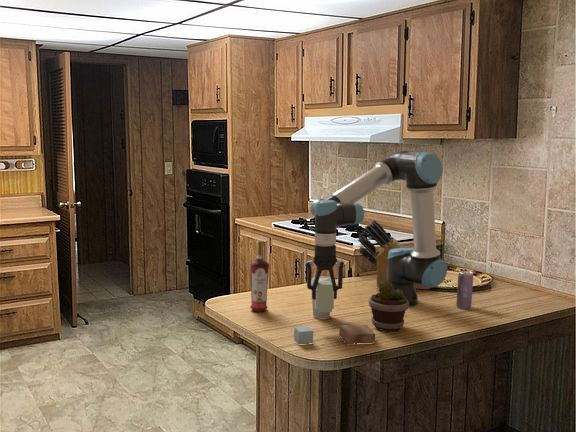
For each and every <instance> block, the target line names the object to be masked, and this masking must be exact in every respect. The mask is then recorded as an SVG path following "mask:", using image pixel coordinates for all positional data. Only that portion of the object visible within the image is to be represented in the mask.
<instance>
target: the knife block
mask: <svg viewBox="0 0 576 432" xmlns="http://www.w3.org/2000/svg"><path fill="white" fill-rule="evenodd" d="M363 229H364V230H365V231H366V233H367V234H368V235H369V236H370V237H371V238H372V239H373V240H374V241H375V242H376V244H378V246H379V247H380V248H379V249H377V248H376V246H375V245H374V244H373V243H372V242H371V240H369V239H368V238H367V237H366V236H363V235H359V236H358V240H357V241H358V242H359V243H360V245H362V246H360V247H359V254H360V255H362V256H363V257H364V258H365V259H366V260H367V261H369V262H370V263H371V264H372V265H373V266H376V287H378V288H380V286H379V285H380V281H382V282H383V280H386V278H387V258H388V252H389V251H390V250H391V249H396V248H404V247H403V246H402V245H401V244H400V242H398V240H397V239H396V238H395V237H391V236H390V235H389V233H387V232H386V230H385V228H383V227H382V226H381V224H380V223H378V222H377V221H376V219H373V220H371V223H369V224H368V225H365V227H364V228H363ZM431 288H432V287H428V286H423V285H421V284H418V283H415V289H421V290H424V291H425V290H430V289H431Z"/></svg>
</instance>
